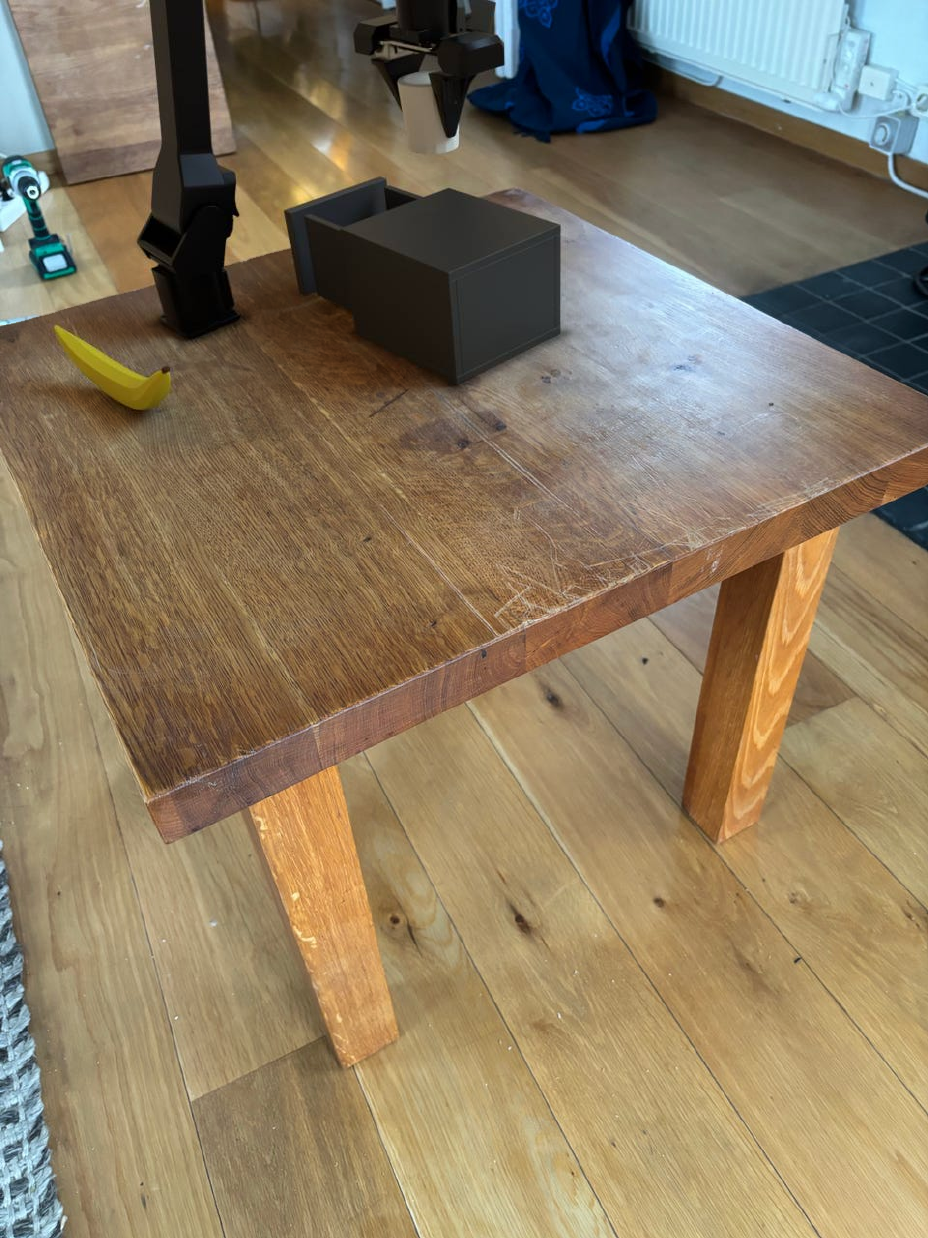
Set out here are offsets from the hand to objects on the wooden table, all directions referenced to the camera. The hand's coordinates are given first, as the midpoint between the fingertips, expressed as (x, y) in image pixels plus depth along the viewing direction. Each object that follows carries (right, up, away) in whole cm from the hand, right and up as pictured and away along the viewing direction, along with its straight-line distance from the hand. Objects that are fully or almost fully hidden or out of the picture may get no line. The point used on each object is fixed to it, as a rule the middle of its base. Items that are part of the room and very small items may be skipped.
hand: (432, 131), depth 108 cm
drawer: (-6, -19, -5) cm, 21 cm away
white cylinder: (0, -1, +1) cm, 2 cm away
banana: (-28, -34, -17) cm, 47 cm away
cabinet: (+3, -26, -12) cm, 29 cm away
